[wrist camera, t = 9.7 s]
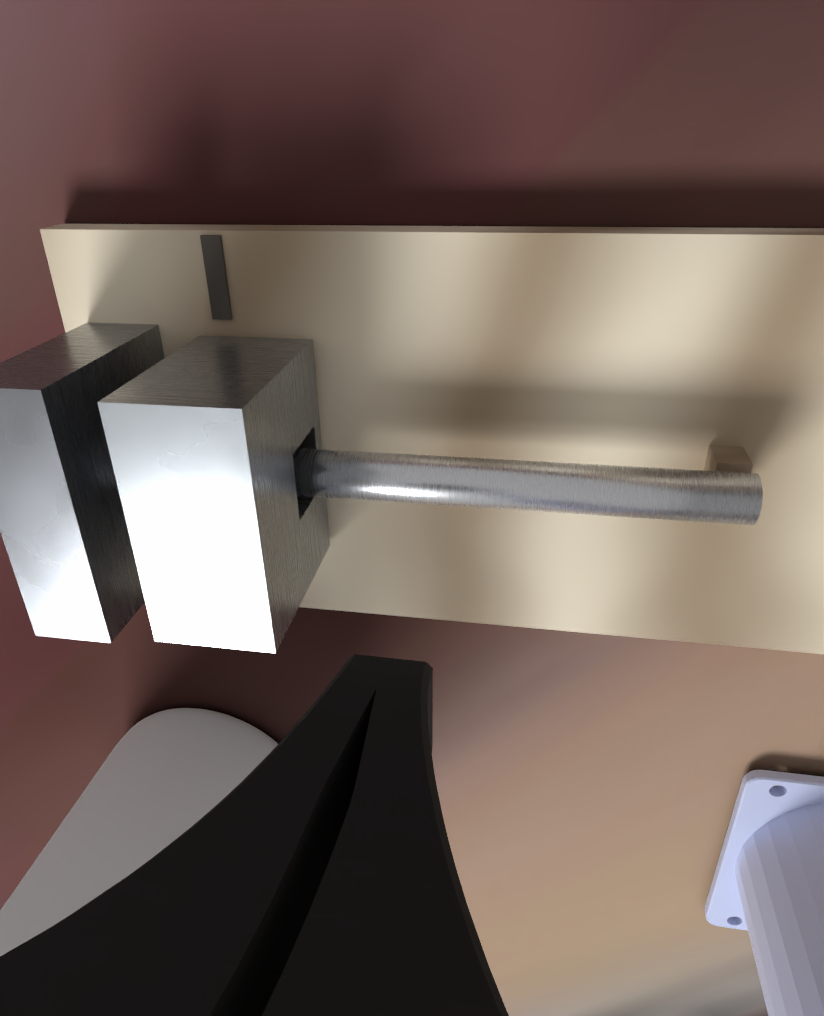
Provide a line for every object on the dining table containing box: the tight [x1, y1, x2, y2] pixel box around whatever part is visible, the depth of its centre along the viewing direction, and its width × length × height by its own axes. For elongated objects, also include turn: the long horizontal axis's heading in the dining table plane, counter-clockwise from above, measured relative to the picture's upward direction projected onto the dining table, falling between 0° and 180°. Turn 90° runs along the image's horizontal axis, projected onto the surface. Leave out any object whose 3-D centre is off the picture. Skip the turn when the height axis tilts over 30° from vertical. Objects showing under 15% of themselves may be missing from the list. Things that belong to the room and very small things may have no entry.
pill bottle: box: [0, 708, 278, 956], centre depth 22 cm, size 8×8×15 cm
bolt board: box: [0, 224, 824, 654], centre depth 17 cm, size 23×11×6 cm, turn 91°
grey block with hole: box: [97, 336, 330, 653], centre depth 18 cm, size 3×6×5 cm, turn 1°
